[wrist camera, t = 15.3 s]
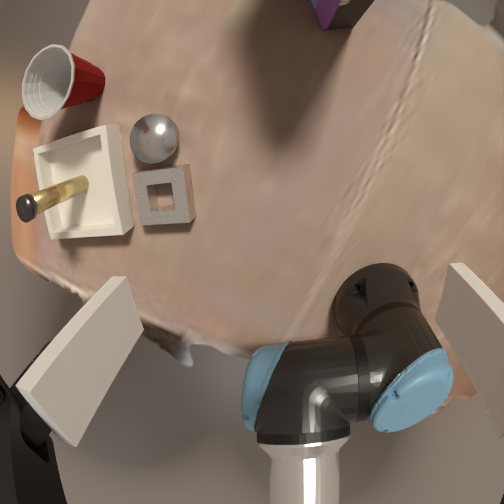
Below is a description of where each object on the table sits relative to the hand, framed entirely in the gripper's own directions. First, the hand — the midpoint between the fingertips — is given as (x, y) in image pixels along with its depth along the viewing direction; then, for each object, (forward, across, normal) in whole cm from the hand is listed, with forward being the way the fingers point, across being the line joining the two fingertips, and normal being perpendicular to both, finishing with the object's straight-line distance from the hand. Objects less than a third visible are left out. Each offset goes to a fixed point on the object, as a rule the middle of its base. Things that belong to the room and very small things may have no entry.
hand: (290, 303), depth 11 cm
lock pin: (+30, +33, -3) cm, 45 cm away
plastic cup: (+31, +29, -19) cm, 47 cm away
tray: (+31, +33, -3) cm, 46 cm away
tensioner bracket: (+31, +17, -3) cm, 36 cm away
